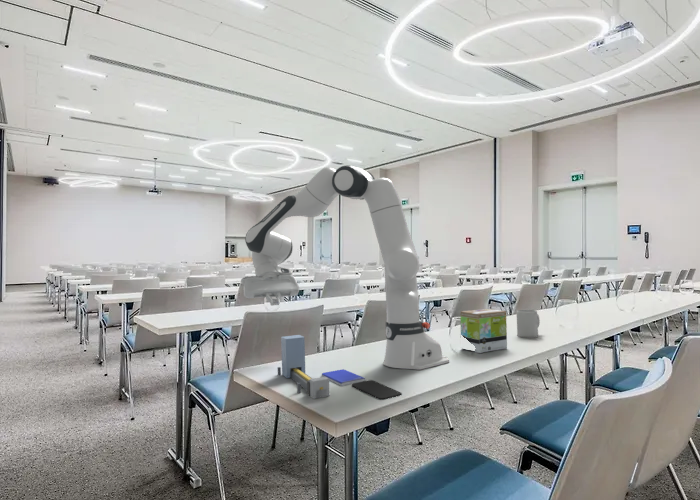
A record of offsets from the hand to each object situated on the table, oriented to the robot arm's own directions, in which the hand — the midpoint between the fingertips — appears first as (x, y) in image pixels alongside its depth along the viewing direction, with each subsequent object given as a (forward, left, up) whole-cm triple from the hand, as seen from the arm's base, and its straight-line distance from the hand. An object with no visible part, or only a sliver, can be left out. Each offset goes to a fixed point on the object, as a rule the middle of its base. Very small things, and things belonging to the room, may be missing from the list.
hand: (275, 304), depth 147 cm
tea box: (-75, +22, -21) cm, 81 cm away
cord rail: (0, +28, -21) cm, 35 cm away
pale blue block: (0, +19, -21) cm, 28 cm away
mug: (-111, +12, -21) cm, 114 cm away
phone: (-15, +45, -21) cm, 52 cm away
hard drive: (-12, +30, -21) cm, 39 cm away
